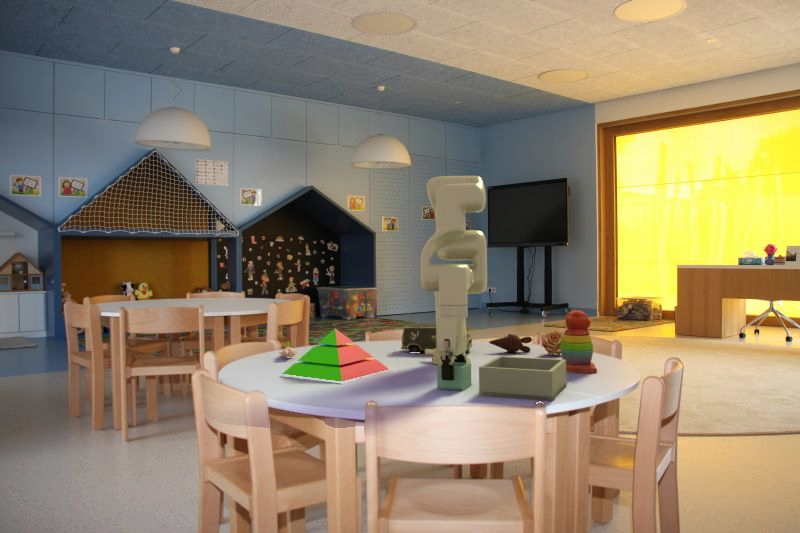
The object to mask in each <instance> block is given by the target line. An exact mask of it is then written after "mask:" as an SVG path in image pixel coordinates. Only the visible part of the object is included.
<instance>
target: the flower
mask: <svg viewBox="0 0 800 533" xmlns="http://www.w3.org/2000/svg"><path fill="white" fill-rule="evenodd" d="M563 334H564V332H562V331H561V332H560V331H557V330H555V329H554V330H551V331H550V332H547V333H546V332H545V333H543V334H541V336H540V337H541V339H540V340H541V347H542V348H544V350H545V351H546V352H547V354H546V356H548V355H553V354H555V355H557V356H561V341H562V336H563Z"/></svg>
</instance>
